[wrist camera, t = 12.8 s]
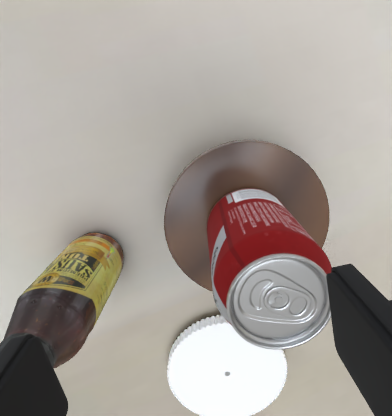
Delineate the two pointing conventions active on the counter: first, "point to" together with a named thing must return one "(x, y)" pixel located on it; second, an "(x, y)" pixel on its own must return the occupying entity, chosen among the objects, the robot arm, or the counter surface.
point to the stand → (233, 180)
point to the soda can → (266, 271)
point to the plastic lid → (223, 371)
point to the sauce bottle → (68, 297)
